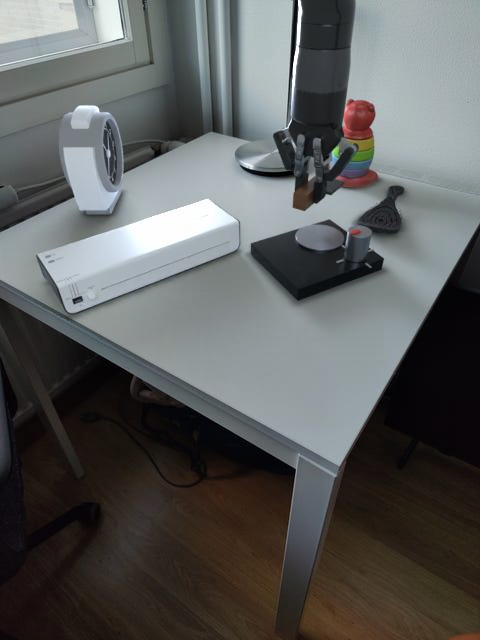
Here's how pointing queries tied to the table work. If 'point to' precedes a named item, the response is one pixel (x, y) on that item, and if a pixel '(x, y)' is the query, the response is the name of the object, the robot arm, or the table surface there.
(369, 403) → the table surface
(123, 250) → the laminator
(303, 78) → the robot arm
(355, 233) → the hob knob
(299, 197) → the spatula
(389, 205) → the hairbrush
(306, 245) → the burner
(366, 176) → the stacking bear
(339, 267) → the hob
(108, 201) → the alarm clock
